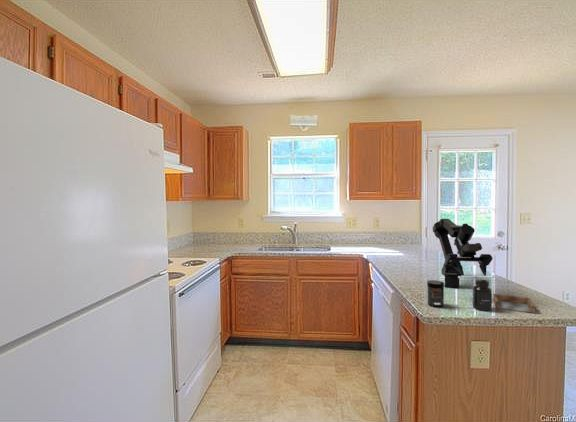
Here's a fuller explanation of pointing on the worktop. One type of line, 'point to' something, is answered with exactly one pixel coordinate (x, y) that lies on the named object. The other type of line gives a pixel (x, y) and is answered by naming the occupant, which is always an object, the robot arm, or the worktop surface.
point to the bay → (513, 303)
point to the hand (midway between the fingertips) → (474, 275)
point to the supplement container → (435, 293)
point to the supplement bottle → (482, 296)
